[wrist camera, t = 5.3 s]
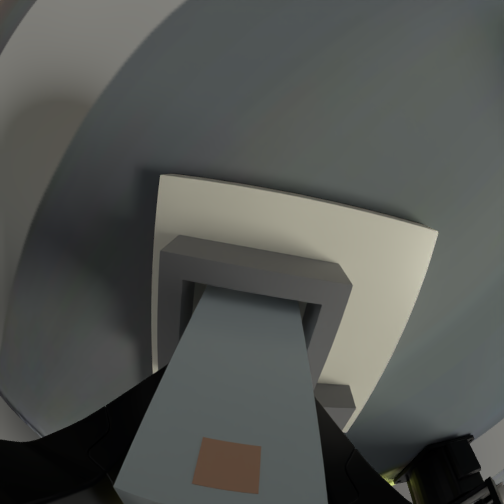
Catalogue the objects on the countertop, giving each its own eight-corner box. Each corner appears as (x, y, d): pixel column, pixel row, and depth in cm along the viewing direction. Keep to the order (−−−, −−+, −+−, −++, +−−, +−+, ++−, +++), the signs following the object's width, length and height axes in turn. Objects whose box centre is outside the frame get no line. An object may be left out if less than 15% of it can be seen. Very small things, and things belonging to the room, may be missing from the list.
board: (343, 418, 14) (352, 458, 11) (161, 391, 14) (143, 431, 11) (424, 225, 11) (466, 245, 8) (171, 173, 11) (136, 178, 8)
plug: (274, 376, 11) (270, 555, 4) (200, 363, 11) (146, 534, 4) (297, 295, 10) (330, 519, 3) (209, 279, 10) (113, 486, 3)
